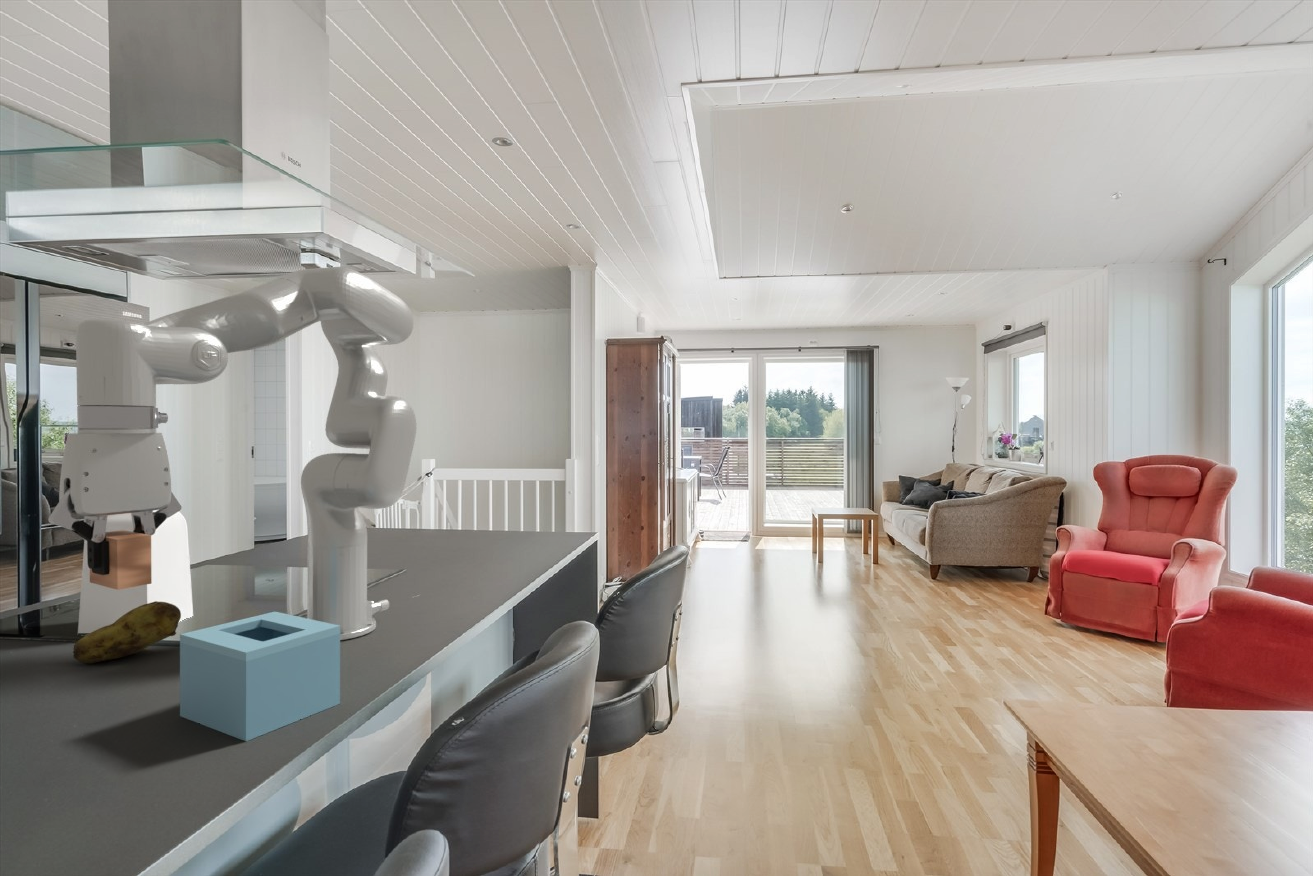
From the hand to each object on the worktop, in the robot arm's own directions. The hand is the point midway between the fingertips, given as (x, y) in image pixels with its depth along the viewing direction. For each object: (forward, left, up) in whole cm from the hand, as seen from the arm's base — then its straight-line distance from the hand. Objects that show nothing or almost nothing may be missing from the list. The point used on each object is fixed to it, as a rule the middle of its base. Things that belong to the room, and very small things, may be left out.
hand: (120, 568), depth 81 cm
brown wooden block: (0, 0, -2) cm, 2 cm away
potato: (-12, -25, -19) cm, 33 cm away
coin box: (-10, +13, -18) cm, 25 cm away
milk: (-21, -43, -19) cm, 51 cm away
